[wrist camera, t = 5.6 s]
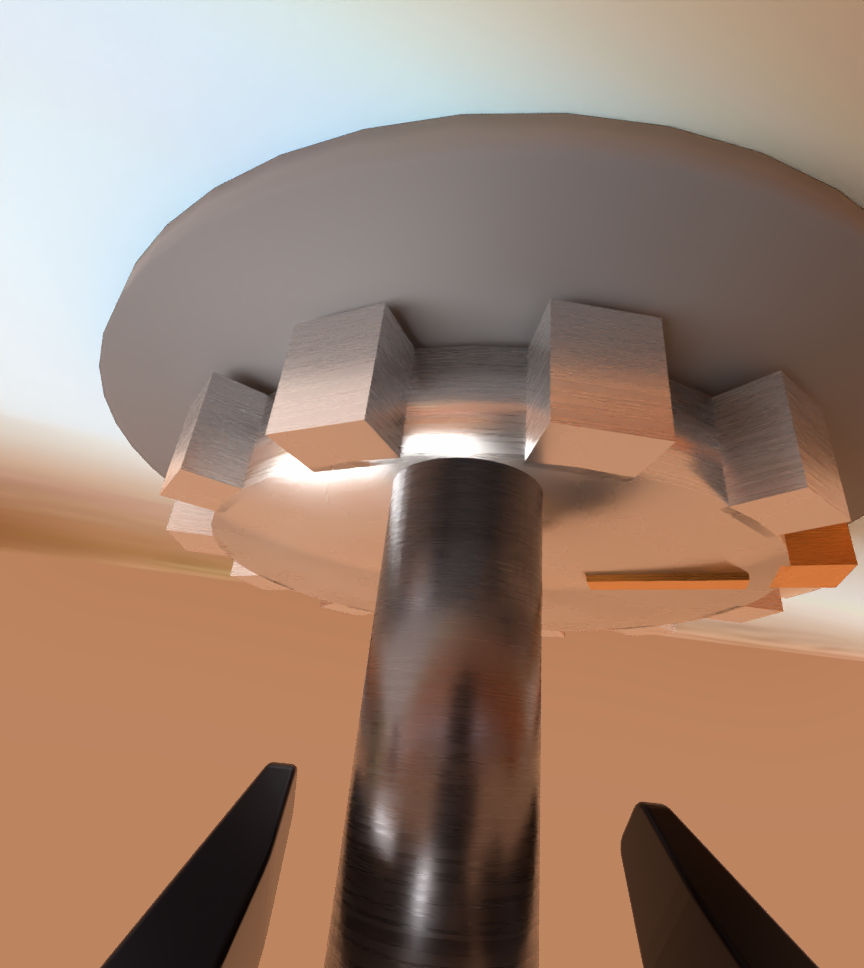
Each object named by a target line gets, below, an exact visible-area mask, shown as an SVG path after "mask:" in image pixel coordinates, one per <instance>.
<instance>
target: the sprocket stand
mask: <svg viewBox="0 0 864 968" xmlns="http://www.w3.org/2000/svg"><path fill="white" fill-rule="evenodd" d="M550 299H556V300H562V301H568V302H573V303H579V304H585V305H591V306H596V307H602V308H608V309H613V310H619V311H625V312H631V313H636V314H642V315H648V316H653V317H659V318H661V319H662V327H663V336H664V345H665V353H666V362H667V371H668V378H671V379H674V380H676V381H678V382H680V383H682V384H685V385H687V386H689V387H691V388H693V389H695V390H697V391H700V392H702V393H704V394H706V395H708V396H710V397H715V396H717V395H720V394H722V393H725V392H727V391H730V390H732V389H735V388H737V387H740V386H742V385H744V384H747V383H749V382H752V381H754V380H757V379H759V378H762V377H764V376H767V375H769V374H772V373H774V372H777V371H779V370H781V371H782V372H783V373H784V374H785V375H786V376H787V377H788V378H789V379H790V380H791V381H792V382H793V383H794V384H795V385H797V386H798V387H799V388H800V389H801V390H802V391H803V392H804V393H805V394H806V395H807V396H808V397H809V398H810V399H811V400H812V401H813V402H814V403H815V404H816V405H817V406H818V407H819V408H820V409H821V410H822V411H823V415H824V419H825V422H826V426H827V430H828V434H829V438H830V442H831V446H832V449H833V453H834V457H835V461H836V465H837V469H838V473H839V476H840V480H841V484H842V488H843V492H844V496H845V499H846V503H847V507H848V511H849V515H850V519H851V521H850V522H847V525H848V524H849V523H851V522H853V521H855V520H857V519H858V518H860V517H862V516H864V210H863V209H862V208H861V207H859V206H858V205H857V204H855V203H854V202H853V201H852V200H850V199H849V198H848V197H846V196H845V195H844V194H842V193H841V192H840V191H839V190H837V189H835V188H833V187H831V186H829V185H827V184H825V183H823V182H820V181H818V180H816V179H814V178H812V177H810V176H808V175H806V174H804V173H802V172H800V171H798V170H796V169H794V168H791V167H789V166H787V165H785V164H783V163H781V162H779V161H777V160H775V159H773V158H771V157H769V156H767V155H765V154H763V153H760V152H756V151H753V150H749V149H746V148H742V147H739V146H735V145H732V144H728V143H725V142H721V141H718V140H714V139H711V138H707V137H704V136H700V135H697V134H693V133H690V132H686V131H683V130H679V129H676V128H672V127H669V126H661V125H653V124H645V123H638V122H630V121H622V120H614V119H607V118H599V117H591V116H584V115H576V114H568V113H537V114H460V115H454V116H447V117H440V118H434V119H427V120H421V121H414V122H408V123H401V124H394V125H388V126H381V127H375V128H368V129H363V130H359V131H356V132H353V133H350V134H346V135H343V136H340V137H337V138H333V139H330V140H327V141H324V142H320V143H317V144H314V145H311V146H308V147H304V148H301V149H298V150H295V151H291V152H288V153H285V154H282V155H279V156H277V157H275V158H273V159H271V160H269V161H267V162H265V163H263V164H261V165H259V166H257V167H255V168H253V169H251V170H249V171H247V172H245V173H243V174H241V175H239V176H237V177H235V178H233V179H231V180H229V181H227V182H225V183H223V184H221V185H219V186H217V187H215V188H214V189H212V190H211V191H210V192H209V193H207V194H206V195H205V196H203V197H202V198H201V199H200V200H198V201H197V202H196V203H194V204H193V205H192V206H190V207H189V208H188V209H187V210H185V211H184V212H183V213H181V214H180V215H179V216H178V217H176V218H175V219H174V220H172V221H171V222H170V223H169V224H167V225H166V226H165V228H164V229H163V230H162V231H161V232H160V234H159V235H158V236H157V237H156V239H155V240H154V241H153V242H152V243H151V245H150V246H149V247H148V248H147V250H146V251H145V252H144V253H143V254H142V256H141V257H140V258H139V259H138V261H137V262H136V263H135V265H134V268H133V270H132V272H131V274H130V276H129V278H128V280H127V283H126V285H125V287H124V289H123V291H122V293H121V295H120V298H119V300H118V302H117V304H116V306H115V309H114V311H113V313H112V315H111V317H110V320H109V322H108V324H107V326H106V328H105V331H104V333H103V339H102V347H101V355H100V363H99V368H100V374H101V380H102V386H103V392H104V397H105V399H106V401H107V404H108V406H109V408H110V411H111V413H112V415H113V417H114V420H115V422H116V424H117V425H118V427H119V428H120V430H121V431H122V433H123V434H124V435H125V437H126V438H127V440H128V441H129V443H130V444H131V446H132V447H133V448H134V449H135V450H136V451H137V452H138V453H139V454H140V455H141V456H142V458H143V459H144V460H145V461H146V462H147V463H148V464H149V465H150V466H151V467H152V468H153V469H154V470H155V471H157V472H158V473H159V474H160V475H161V476H163V477H164V478H165V477H166V474H167V472H168V469H169V466H170V463H171V460H172V457H173V454H174V451H175V449H176V446H177V443H178V440H179V437H180V434H181V431H182V429H183V426H184V423H185V420H186V417H187V414H188V411H189V408H190V406H191V404H192V403H193V401H194V400H195V398H196V397H197V395H198V394H199V392H200V391H201V389H202V388H203V386H204V385H205V383H206V382H207V380H208V379H209V377H210V376H211V374H212V373H213V372H216V373H218V374H220V375H222V376H225V377H227V378H229V379H232V380H234V381H236V382H239V383H241V384H243V385H245V386H248V387H250V388H252V389H255V390H257V391H259V392H261V393H264V394H266V395H269V394H271V393H273V392H275V391H276V390H277V389H278V385H279V381H280V378H281V374H282V370H283V366H284V363H285V359H286V355H287V352H288V348H289V344H290V340H291V337H292V333H293V329H294V326H295V324H299V323H303V322H307V321H311V320H315V319H319V318H324V317H328V316H332V315H336V314H340V313H344V312H348V311H352V310H357V309H361V308H365V307H369V306H373V305H377V304H381V303H386V304H387V306H388V307H389V309H390V311H391V312H392V314H393V315H394V317H395V318H396V320H397V322H398V323H399V325H400V326H401V328H402V329H403V331H404V332H405V334H406V336H407V337H408V339H409V340H410V342H411V343H412V345H413V347H414V348H415V349H418V348H436V347H454V346H496V347H525V348H528V347H529V344H530V342H531V340H532V338H533V336H534V334H535V331H536V329H537V327H538V325H539V323H540V320H541V318H542V316H543V314H544V312H545V310H546V307H547V305H548V303H549V301H550ZM817 589H820V588H779V591H780V596H781V598H789V597H793V596H796V595H800V594H803V593H807V592H810V591H814V590H817Z"/></svg>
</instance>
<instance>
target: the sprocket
mask: <svg viewBox="0 0 864 968" xmlns="http://www.w3.org/2000/svg"><path fill="white" fill-rule="evenodd" d="M159 495H162V496H165V497H169V498H172V499H175V500H176V501H175V504H174V507H173V510H172V513H171V516H170V519H169V522H168V525H167V528H166V530H167V531H168V532H169V533H170V534H171V535H172V536H173V537H174V538H175V539H176V540H177V541H178V542H179V543H180V544H181V545H182V546H183V547H184V548H185V549H186V550H187V551H194V552H201V553H209V554H217V555H224V556H229V557H230V558H232V559H233V560H234V563H233V567H232V571H231V575H230V576H232V577H234V578H237V579H239V580H241V581H244V582H246V583H249V584H252V585H254V586H256V587H259V588H261V589H264V590H294V591H297V592H299V593H302V594H305V595H309V596H312V597H315V598H318V599H321V605H320V607H324V608H328V609H332V610H337V611H341V612H346V613H350V614H354V615H359V616H361V615H366V614H371V613H374V621H373V627H372V634H371V642H370V649H369V655H368V662H367V669H366V677H365V683H364V690H363V698H362V704H361V711H360V718H359V726H358V732H357V739H356V747H355V753H354V760H353V767H352V774H351V782H350V788H349V796H348V803H347V811H346V816H345V823H344V831H343V837H342V844H341V851H340V859H339V866H338V873H337V880H336V887H335V894H334V901H333V908H332V915H331V922H330V929H329V936H328V943H327V950H326V957H325V964H324V968H539V869H540V867H539V866H540V861H539V859H540V750H541V749H540V748H541V636H547V637H548V636H549V637H565V631H602V630H613V631H616V632H620V633H623V634H626V635H629V636H634V635H647V634H660V633H673V632H675V624H674V623H681V622H686V621H691V620H697V619H702V618H710V619H718V620H726V621H733V622H745V621H748V620H752V619H756V618H760V617H764V616H768V615H772V614H776V613H780V612H783V607H782V601H781V596H780V591H779V588H832V587H837V586H838V585H839V584H840V583H841V581H842V580H843V579H844V578H845V577H846V576H847V575H848V574H849V573H850V572H851V571H852V570H853V569H854V568H855V567H856V566H857V565H858V564H857V560H856V556H855V552H854V548H853V544H852V541H851V537H850V533H849V529H848V525H847V522H850V521H851V519H850V515H849V511H848V507H847V503H846V499H845V496H844V492H843V488H842V484H841V480H840V476H839V473H838V469H837V465H836V461H835V457H834V453H833V449H832V446H831V442H830V438H829V434H828V430H827V426H826V422H825V419H824V415H823V411H822V410H821V409H820V408H819V407H818V406H817V405H816V404H815V403H814V402H813V401H812V400H811V399H810V398H809V397H808V396H807V395H806V394H805V393H804V392H803V391H802V390H801V389H800V388H799V387H798V386H797V385H795V384H794V383H793V382H792V381H791V380H790V379H789V378H788V377H787V376H786V375H785V374H784V373H783V372H782V371H781V370H779V371H777V372H774V373H772V374H769V375H767V376H764V377H762V378H759V379H757V380H754V381H752V382H749V383H747V384H744V385H742V386H740V387H737V388H735V389H732V390H730V391H727V392H725V393H722V394H720V395H717V396H715V397H710V396H708V395H706V394H704V393H702V392H700V391H697V390H695V389H693V388H691V387H689V386H687V385H685V384H682V383H680V382H678V381H676V380H674V379H671V378H668V371H667V362H666V353H665V345H664V336H663V327H662V319H661V318H659V317H653V316H648V315H642V314H636V313H631V312H625V311H619V310H613V309H608V308H602V307H596V306H591V305H585V304H579V303H573V302H568V301H562V300H556V299H550V301H549V303H548V305H547V307H546V310H545V312H544V314H543V316H542V318H541V320H540V323H539V325H538V327H537V329H536V331H535V334H534V336H533V338H532V340H531V342H530V344H529V347H528V348H525V347H496V346H454V347H436V348H418V349H415V348H414V347H413V345H412V343H411V342H410V340H409V339H408V337H407V336H406V334H405V332H404V331H403V329H402V328H401V326H400V325H399V323H398V322H397V320H396V318H395V317H394V315H393V314H392V312H391V311H390V309H389V307H388V306H387V304H386V303H381V304H377V305H373V306H369V307H365V308H361V309H357V310H352V311H348V312H344V313H340V314H336V315H332V316H328V317H324V318H319V319H315V320H311V321H307V322H303V323H299V324H295V326H294V329H293V333H292V337H291V340H290V344H289V348H288V352H287V355H286V359H285V363H284V366H283V370H282V374H281V378H280V381H279V385H278V389H277V390H276V391H275V392H273V393H271V394H269V395H266V394H264V393H261V392H259V391H257V390H255V389H252V388H250V387H248V386H245V385H243V384H241V383H239V382H236V381H234V380H232V379H229V378H227V377H225V376H222V375H220V374H218V373H216V372H213V373H212V374H211V376H210V377H209V379H208V380H207V382H206V383H205V385H204V386H203V388H202V389H201V391H200V392H199V394H198V395H197V397H196V398H195V400H194V401H193V403H192V404H191V406H190V408H189V411H188V414H187V417H186V420H185V423H184V426H183V429H182V431H181V434H180V437H179V440H178V443H177V446H176V449H175V451H174V454H173V457H172V460H171V463H170V466H169V469H168V472H167V474H166V477H165V480H164V483H163V486H162V489H161V492H160V494H159Z"/></svg>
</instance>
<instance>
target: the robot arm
mask: <svg viewBox="0 0 864 968" xmlns="http://www.w3.org/2000/svg"><path fill="white" fill-rule="evenodd" d="M296 779H297V767H296V766H295V765H293V764H286V763H277V762H272V763H269V764H268V765H267V766H265V768H264V769H263V770H262V771H261V772H260V774H259V775H258V776H257V777H256V779H255V780H254V781H253V782H252V783H251V785H250V786H249V787H248V788H247V790H246V791H245V792H244V793H243V794H242V795H241V797H240V798H239V799H238V800H237V802H236V803H235V804H234V805H233V806H232V808H231V809H230V810H229V811H228V812H227V814H226V815H225V816H224V818H223V819H222V820H221V821H220V822H219V823H218V825H217V826H216V827H215V828H214V830H213V831H212V832H211V833H210V835H209V836H208V837H207V838H206V839H205V841H204V842H203V843H202V844H201V846H200V847H199V848H198V849H197V850H196V851H195V853H194V854H193V855H192V856H191V858H190V859H189V860H188V861H187V862H186V864H185V865H184V866H183V867H182V869H181V870H180V871H179V872H178V873H177V875H176V876H175V877H174V878H173V880H172V881H171V882H170V883H169V884H168V886H167V887H166V888H165V889H164V890H163V892H162V893H161V894H160V895H159V897H158V898H157V899H156V900H155V902H154V903H153V904H152V905H151V906H150V908H149V909H148V910H147V911H146V913H145V914H144V915H143V916H142V917H141V919H140V920H139V921H138V922H137V924H136V925H135V926H134V927H133V928H132V929H131V931H130V932H129V933H128V935H127V936H126V937H125V938H124V939H123V941H122V942H121V943H120V944H119V945H118V947H117V948H116V949H115V950H114V951H113V953H112V954H111V955H110V956H109V958H108V959H107V960H106V961H105V962H104V964H103V965H102V966H101V967H100V968H258V965H259V961H260V958H261V955H262V951H263V948H264V944H265V939H266V935H267V931H268V926H269V922H270V917H271V913H272V908H273V904H274V899H275V894H276V890H277V885H278V880H279V875H280V871H281V866H282V861H283V856H284V852H285V848H286V843H287V838H288V834H289V829H290V824H291V819H292V814H293V808H294V807H293V806H294V799H295V789H296ZM621 856H622V862H623V867H624V872H625V877H626V881H627V887H628V892H629V897H630V902H631V907H632V912H633V917H634V923H635V928H636V933H637V938H638V943H639V948H640V953H641V958H642V963H643V966H644V968H819V967H818V966H817V965H816V964H815V963H814V962H813V961H812V960H811V959H810V958H809V957H808V956H807V954H805V952H804V951H803V950H802V949H801V948H800V947H799V946H798V945H797V944H796V943H795V942H794V941H793V940H792V939H791V938H790V936H789V935H788V934H787V933H786V932H785V931H784V930H783V929H782V928H781V927H780V926H779V925H778V924H777V922H776V921H775V920H774V919H773V918H772V917H771V916H770V915H769V914H768V913H767V912H766V911H765V910H764V909H763V908H762V906H761V905H759V903H758V902H757V901H756V900H755V899H754V898H753V897H752V896H751V895H750V894H749V893H748V892H747V890H745V888H744V887H743V886H742V885H741V884H740V883H739V882H738V881H737V880H736V879H735V878H734V877H733V875H732V874H731V873H730V872H729V871H728V870H727V869H726V868H725V867H724V866H723V865H722V864H721V863H720V862H719V861H718V860H717V859H716V857H715V856H714V855H713V854H712V853H711V852H710V851H709V850H708V849H707V848H706V847H705V846H704V845H703V844H702V842H701V841H700V840H699V839H698V838H697V837H696V836H695V835H694V834H693V833H692V832H691V831H690V830H689V829H688V828H687V826H686V825H685V824H684V823H683V822H682V821H681V820H680V819H679V818H678V817H677V816H676V815H675V814H674V813H673V812H672V810H671V809H669V808H668V807H667V806H665V805H663V804H659V803H649V802H639V803H638V804H637V805H636V806H635V808H634V809H633V812H632V814H631V817H630V819H629V821H628V824H627V826H626V828H625V831H624V833H623V835H622V839H621Z"/></svg>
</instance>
